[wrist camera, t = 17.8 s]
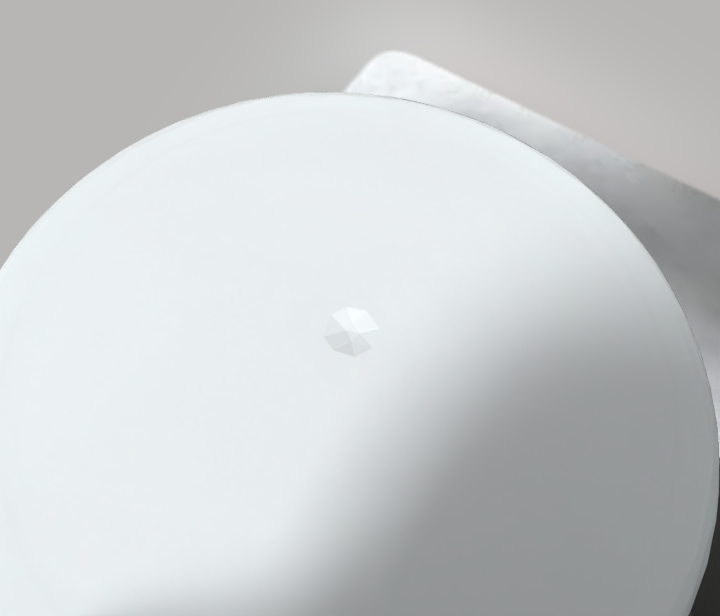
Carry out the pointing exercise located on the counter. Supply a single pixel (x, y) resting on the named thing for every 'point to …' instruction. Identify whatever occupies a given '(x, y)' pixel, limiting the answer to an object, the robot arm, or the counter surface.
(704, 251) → the counter surface
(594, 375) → the supplement tub
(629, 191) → the counter surface
